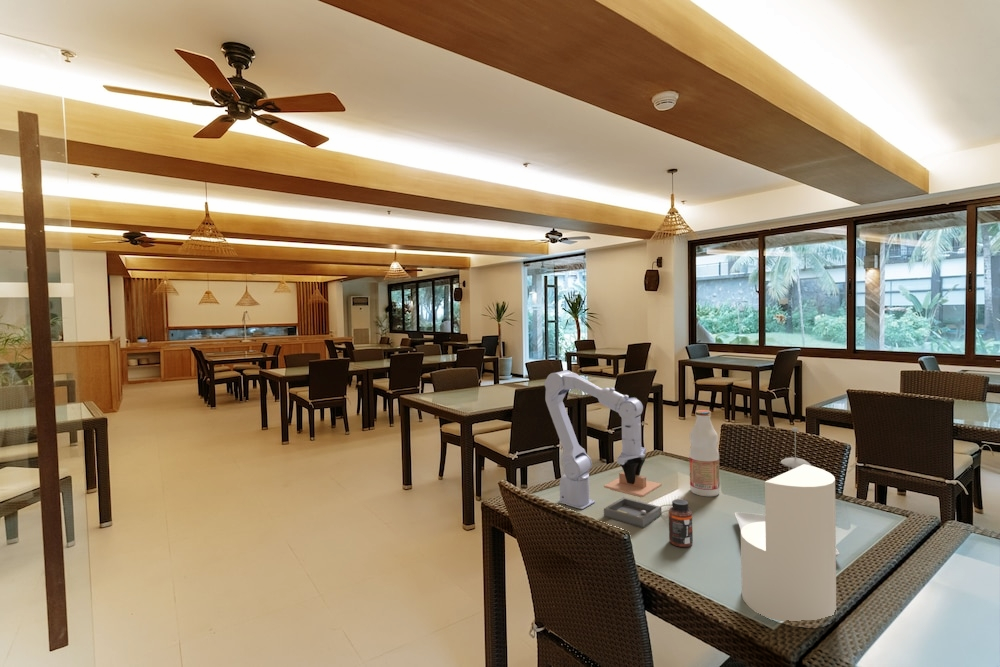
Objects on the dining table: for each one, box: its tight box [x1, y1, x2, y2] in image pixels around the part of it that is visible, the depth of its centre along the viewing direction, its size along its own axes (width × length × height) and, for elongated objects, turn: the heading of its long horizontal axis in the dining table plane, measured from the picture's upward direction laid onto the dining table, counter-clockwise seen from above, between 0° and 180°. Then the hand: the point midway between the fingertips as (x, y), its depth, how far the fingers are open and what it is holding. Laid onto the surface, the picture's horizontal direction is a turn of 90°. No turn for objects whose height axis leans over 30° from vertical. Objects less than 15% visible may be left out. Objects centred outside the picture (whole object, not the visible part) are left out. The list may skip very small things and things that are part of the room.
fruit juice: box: [688, 409, 721, 497], centre depth 167 cm, size 9×9×28 cm
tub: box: [603, 496, 662, 529], centre depth 150 cm, size 13×12×2 cm
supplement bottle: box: [668, 498, 694, 548], centre depth 131 cm, size 6×6×11 cm
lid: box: [603, 471, 662, 498], centre depth 150 cm, size 13×12×4 cm
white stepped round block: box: [740, 464, 837, 621], centre depth 103 cm, size 17×17×28 cm
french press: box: [780, 426, 812, 471], centre depth 153 cm, size 10×12×25 cm
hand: (632, 482), depth 150 cm, fingers closed on lid, 2 cm apart
